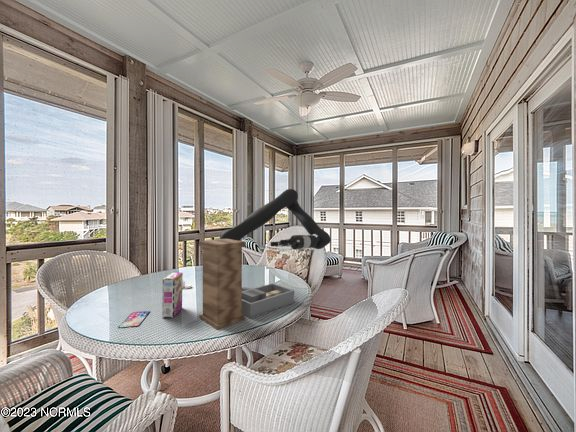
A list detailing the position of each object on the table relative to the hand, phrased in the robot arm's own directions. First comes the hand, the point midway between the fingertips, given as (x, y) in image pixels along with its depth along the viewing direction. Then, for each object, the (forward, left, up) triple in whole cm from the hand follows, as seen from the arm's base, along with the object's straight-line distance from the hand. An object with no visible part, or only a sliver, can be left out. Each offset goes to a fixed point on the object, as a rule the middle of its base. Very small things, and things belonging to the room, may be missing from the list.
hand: (275, 243), depth 131 cm
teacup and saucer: (-54, +4, -29) cm, 61 cm away
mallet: (-4, -8, -27) cm, 29 cm away
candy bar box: (-39, -26, -28) cm, 55 cm away
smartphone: (-50, -35, -29) cm, 68 cm away
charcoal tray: (-4, -9, -28) cm, 30 cm away
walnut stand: (-16, -27, -28) cm, 42 cm away
